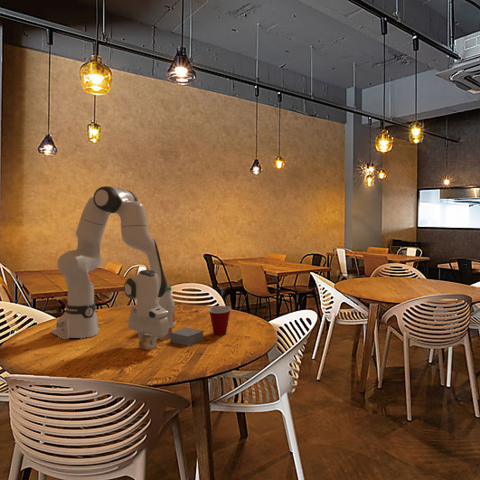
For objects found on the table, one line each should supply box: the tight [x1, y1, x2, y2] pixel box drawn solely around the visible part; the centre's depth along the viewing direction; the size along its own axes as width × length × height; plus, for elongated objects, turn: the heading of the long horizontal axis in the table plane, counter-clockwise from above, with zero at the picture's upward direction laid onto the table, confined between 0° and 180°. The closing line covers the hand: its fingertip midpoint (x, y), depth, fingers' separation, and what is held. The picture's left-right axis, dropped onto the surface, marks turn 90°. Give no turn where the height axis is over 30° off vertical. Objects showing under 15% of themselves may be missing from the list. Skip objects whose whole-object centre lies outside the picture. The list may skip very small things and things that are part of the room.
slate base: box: [169, 327, 204, 347], centre depth 172 cm, size 10×10×4 cm
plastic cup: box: [207, 305, 232, 336], centre depth 183 cm, size 11×11×12 cm
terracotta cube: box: [157, 326, 173, 341], centre depth 175 cm, size 5×5×5 cm
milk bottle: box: [158, 285, 176, 329], centre depth 193 cm, size 8×8×20 cm
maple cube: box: [138, 333, 158, 351], centre depth 162 cm, size 5×5×5 cm
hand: (147, 343), depth 162 cm, fingers closed on maple cube, 5 cm apart
